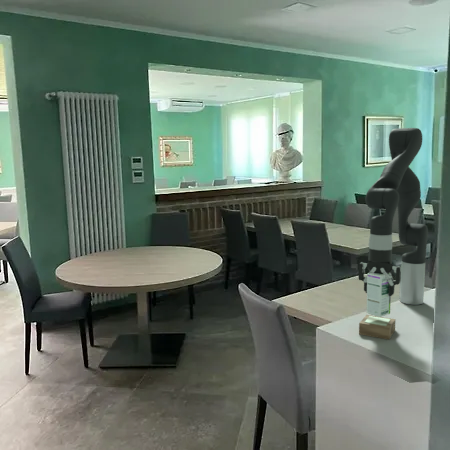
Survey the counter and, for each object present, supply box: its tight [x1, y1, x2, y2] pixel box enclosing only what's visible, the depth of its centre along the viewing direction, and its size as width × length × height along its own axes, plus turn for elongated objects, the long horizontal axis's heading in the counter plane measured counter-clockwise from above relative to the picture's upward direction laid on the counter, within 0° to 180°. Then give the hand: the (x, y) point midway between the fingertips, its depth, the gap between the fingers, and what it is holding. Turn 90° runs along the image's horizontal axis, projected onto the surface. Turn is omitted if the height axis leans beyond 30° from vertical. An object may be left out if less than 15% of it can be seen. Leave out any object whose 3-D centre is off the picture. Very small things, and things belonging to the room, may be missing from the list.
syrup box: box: [366, 272, 392, 317], centre depth 160 cm, size 6×6×14 cm
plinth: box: [358, 314, 396, 340], centre depth 161 cm, size 10×10×4 cm
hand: (378, 294), depth 160 cm, fingers closed on syrup box, 7 cm apart
